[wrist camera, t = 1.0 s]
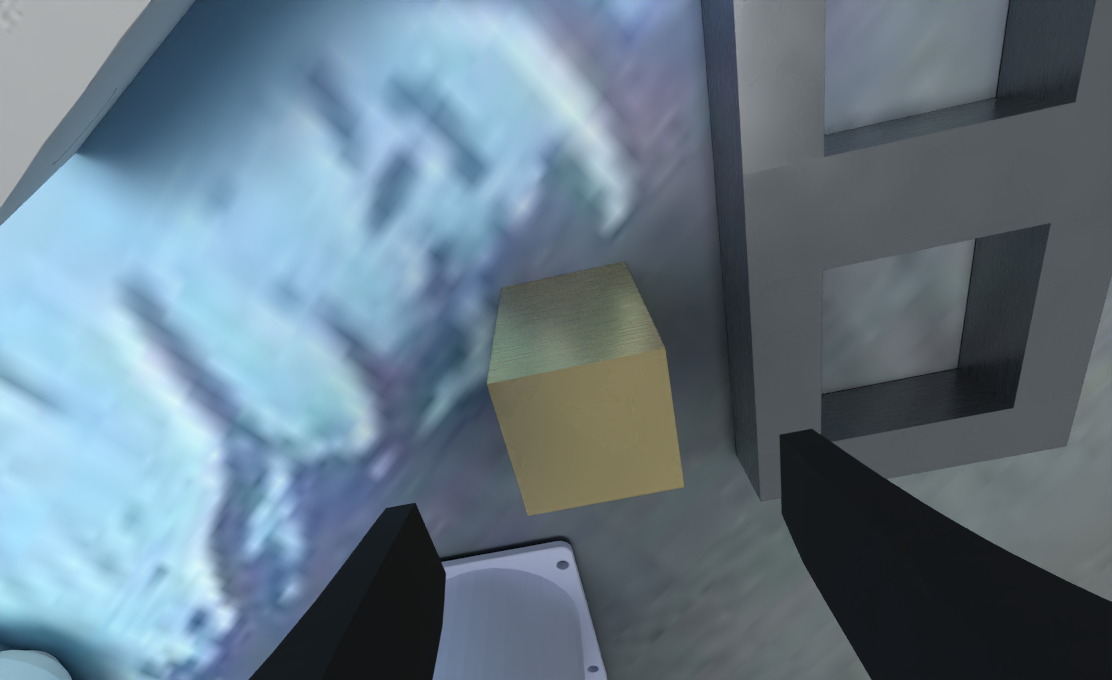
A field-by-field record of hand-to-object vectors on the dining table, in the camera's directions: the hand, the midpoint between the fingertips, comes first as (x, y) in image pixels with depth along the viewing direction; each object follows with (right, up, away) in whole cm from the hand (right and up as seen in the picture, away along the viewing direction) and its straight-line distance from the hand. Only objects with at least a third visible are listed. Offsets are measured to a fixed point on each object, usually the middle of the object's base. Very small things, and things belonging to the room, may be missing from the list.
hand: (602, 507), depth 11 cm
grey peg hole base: (+9, +8, +5) cm, 13 cm away
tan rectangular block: (0, +4, +7) cm, 8 cm away
